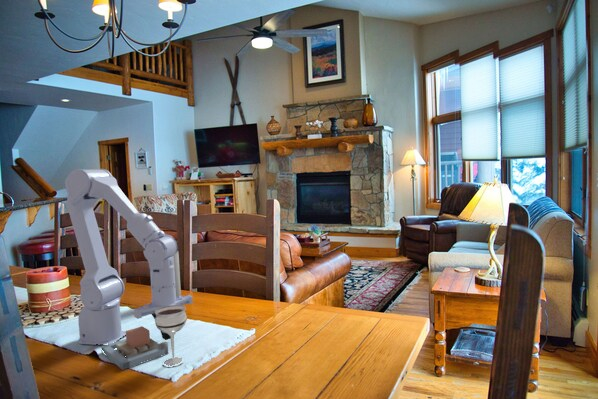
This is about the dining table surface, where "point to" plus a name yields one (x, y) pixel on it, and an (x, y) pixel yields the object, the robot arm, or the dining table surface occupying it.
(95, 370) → the dining table surface
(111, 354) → the dock
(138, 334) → the salmon pink block
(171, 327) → the wineglass
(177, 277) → the travel mug
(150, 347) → the pallet
